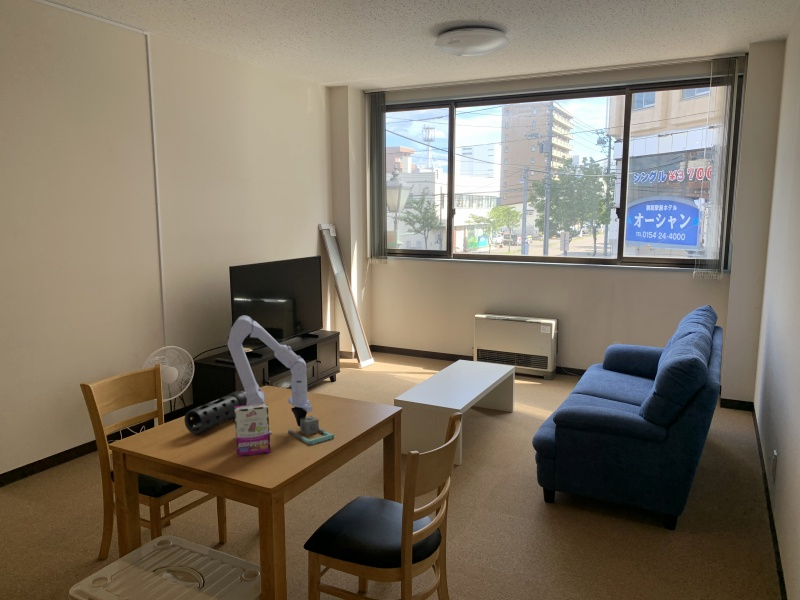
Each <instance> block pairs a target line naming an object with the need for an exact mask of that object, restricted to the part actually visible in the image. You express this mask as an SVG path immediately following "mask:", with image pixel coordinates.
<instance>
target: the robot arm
mask: <svg viewBox="0 0 800 600" xmlns="http://www.w3.org/2000/svg"><path fill="white" fill-rule="evenodd" d="M248 336H249V337H250V338H258V339H259V340H260V341H261V342H263V343H264V344H265V345H266V346H267V347H268V348H270V349H271V350H272V351H273V353H274V357H275V359H277V360H278V361H279V362H280V363H281V364H283V365H284V366H285V367H286V368H288V369H290V373H291V380H290V381H291V382H290V383H291V397H289V398H288V399H287V400H288V402H287V403H288V404H289V405H290V404H291V406H292V407H291V409H290V410H291V412H292V413H293V415H294V418H295V420H296V424H297V426H298V427H300V418H304V417H307V414H308V413H310V412H313V406H312V405H311V400H310V399H308V379H307V371H308V369H307V363H306V361H305V360H304V358H302V357H301V355H299V354H298V355H297V354H296V352H294V351H293V350H292V347H291V346H290V345H286V344H281V343H279V342H278V341H277V340H276V339H275V338H274V337H273V336H272V335H271V334H270V333H269V332H268V331H267V330H266V329H265V328H264V327H263V326H262V325H260V324H259V323H258V322H257V321H256V320H254V319H252V317H250V316H248V315H244V314H243V315H241V316H239V317H238V318H237V319H236V320H235V321H234V323H233V325H232V326H231V329H230V333H229V336H228V339H227V343H226V344H227V347H228V350H229V353H230V355H231V358H232V360H233V363H234V365H235V369H236V371H237V373H238V376H239V379H240V382H241V384H242V386H243V387H242V388H243V389H244V391H245V396H246V399H247V404H246V405H253V404H262V403H265V400H266V393H265V392H264V391H263V390H262V389H261V387H260V385H259V384H258V382H257V380H256V378H255V375H254V372H253V371H252V367H251V365H250V362H249V359H248V357H247V355H246V352H245V348H244V346H243V342H244V341H245V339H246V338H247V337H248ZM269 433H270V435H271V434H273V432H272V431H271V430H269Z"/></svg>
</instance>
